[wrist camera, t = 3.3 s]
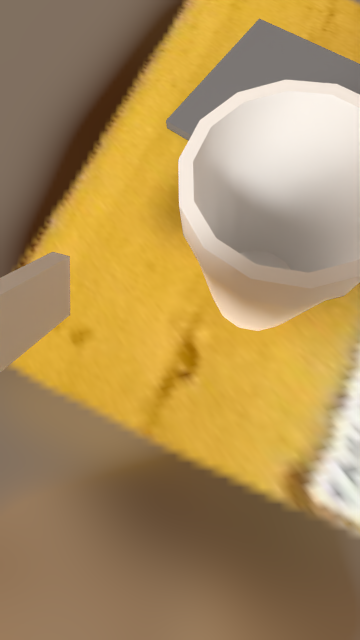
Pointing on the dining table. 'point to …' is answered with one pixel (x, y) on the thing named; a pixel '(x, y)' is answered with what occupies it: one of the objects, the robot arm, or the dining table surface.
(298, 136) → the foam cup
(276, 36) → the rubber mat
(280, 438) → the dining table surface
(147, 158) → the dining table surface
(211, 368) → the dining table surface
